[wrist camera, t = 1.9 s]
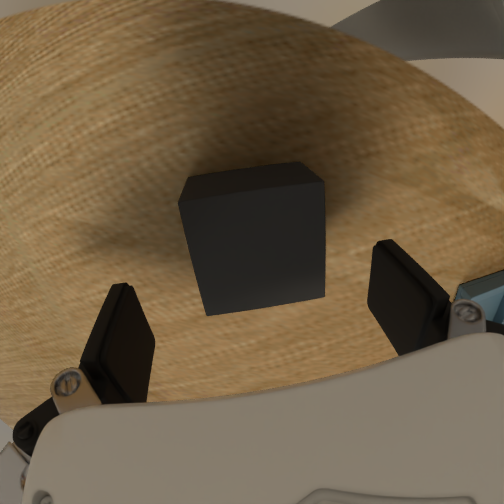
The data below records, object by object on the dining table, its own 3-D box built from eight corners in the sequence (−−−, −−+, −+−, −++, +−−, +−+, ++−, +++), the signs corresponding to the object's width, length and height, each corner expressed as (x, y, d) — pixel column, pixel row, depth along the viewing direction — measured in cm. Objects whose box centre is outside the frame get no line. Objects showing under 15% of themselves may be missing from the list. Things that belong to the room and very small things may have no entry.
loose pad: (187, 177, 15) (177, 201, 11) (300, 161, 15) (324, 180, 12) (208, 273, 18) (206, 316, 14) (305, 258, 18) (325, 297, 15)
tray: (459, 284, 21) (471, 297, 19) (513, 266, 21) (524, 276, 20) (419, 385, 28) (425, 397, 27) (471, 362, 29) (478, 372, 27)
